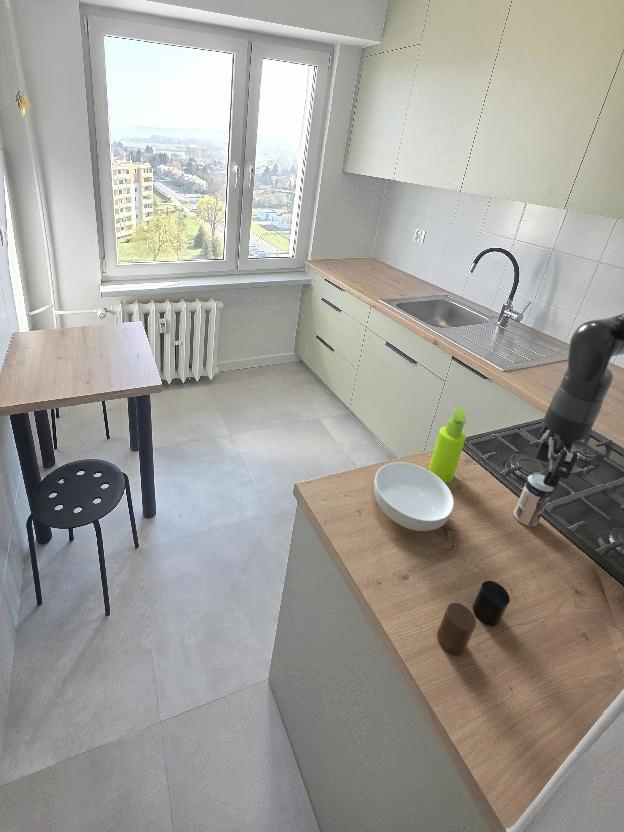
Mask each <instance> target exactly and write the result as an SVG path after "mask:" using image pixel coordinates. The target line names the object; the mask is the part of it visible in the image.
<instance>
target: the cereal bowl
mask: <svg viewBox="0 0 624 832" xmlns="http://www.w3.org/2000/svg"><path fill="white" fill-rule="evenodd" d="M373 483H374V484H373V492H374V493H373V494H374V497H375V500H376V503H377V504H378V506H379V508H380V510H381V511H382V512H383V513H384V514H385V515H386V516H387V517H388V518H389V519H390V520H392V522H394V523H395V524H398V525H399V526H401V527H403V528H406V529H408V530H411V531H417V532H431V531H434V530H437V529H440V528H442V527H443V526H444V525H445V524H446V523H447V522H448V521H449V520H450V517H451V516H452V513H453V510H454V506H455V500H454V496H453V494H452V492H451V490H450V488H449V486H448V485H447V484H446V482H443V481H442V480H441V479H440V478H439V477H438V476H436V475H435V474H434V473H432V472H431V471H429V470H428V469H427V468H425V467H422V466H421V465H418V464H414V463H410V462H404V461H395V462H390V463H387V464H384V465H382V466H381V467H380V468H378V470H377V472H376V474H375V477H374V481H373Z"/></svg>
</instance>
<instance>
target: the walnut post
mask: <svg viewBox="0 0 624 832" xmlns="http://www.w3.org/2000/svg"><path fill="white" fill-rule="evenodd" d="M476 627H477V622H476V616H475V614H474V613H473V612H472V611H471V610H470V609H469V608H468V607H467V606H465V605H464V604H461V603H459V602H451V603H449V604H448V605H447V607H446V610H445V613H444V615H443V617H442V620H441V622H440V625H439V627H438V630H437V633H436V638H437V641H438V643H439V646H440V647H441V648H442V649H443V650H444V651H445V652H446V653H448V654H449V655H452V656H454V657H459V656H462V655H464V654H465V652H466V649H467V647H468V644H469V642H470V640H471V637H472V635H473V632H474V631H475V629H476Z"/></svg>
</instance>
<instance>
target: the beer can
mask: <svg viewBox="0 0 624 832" xmlns="http://www.w3.org/2000/svg"><path fill="white" fill-rule="evenodd" d="M545 476H546V475H544V474H543V473H538V472H535V473H532V474H530V475H528V476H527V479H526V481H525V484H524V487H523V489H522V491H521V493H520V496H519V498H518V500H517V503H516V505H515V508H514V510H513V516H514V517H515V519H516V520H517V521H518V522H520V523H521V524H523V525H525V526H527V527H536V526H537V525H538V524H539V522H540V519H541V517H542V515H543V512H544V510H545V509H546V506H547V505H548V502H549V499H550V497H551V495H552V493H553V491H554V488H555V487H550V486H547V485H545V484H544V482H543V480H544V478H545Z"/></svg>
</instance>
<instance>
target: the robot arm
mask: <svg viewBox="0 0 624 832" xmlns="http://www.w3.org/2000/svg"><path fill="white" fill-rule="evenodd" d="M621 355H624V313H621V314H617V315H614V316H611V317H606V318H600V319H593V320H588V321H585V322H583V323H581V324H580V325H579V326H578V327H577V328H576V329H575V331H574V332H573V333H572V336H571V338H570V342H569V348H568V357H567V368H566V370H565V372H564V374H563V377H562V379H561V381H560V384H559V386H558V387H557V389H556V391H555V392H554V394H553V396H552V399H551V401H550V403H549V406H548V407H547V410H546V413H545V415H544V416H543V417H544V418H543V425H542V427H541V429H540V431H539V433H538V435H539V437H541V438H540V439H539V447H538V449H537V451H536V453H535V459H537V460H539V461H542V462H548V461H549V465H548V469H547V472H546V474H545V475H544V476H545V478H544V480H543V482H544V484H545V485H547V486H550V487H553V488H557V486H558V484H559V482H560V480H561V479H566V480H569V478H570V477H569V476H570V475H571V474H572V472H573V471H572V470H573V468H574V466H575V464H576V461H577V459H578V456H579V455H578V453H576V452H572V451H573V450H574V449H575V447H574V446H575V443H574V442H577V441H582V440H583V441H584V440H586V439H587V438H588V437H589V434H590V432H591V430H592V428H593V426H594V424H595V422H596V420H597V418H598V416H599V415H600V412H601V409H602V405H603V402H604V400H605V398H606V397H607V394H608V392H609V390H610V388H611V385H612V383H613V379H614V374H613V372H612V371H611V370H610V368H608V367H609V363H610V361H611V359H612V357H616V356H621ZM555 455H556V456H555Z"/></svg>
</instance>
